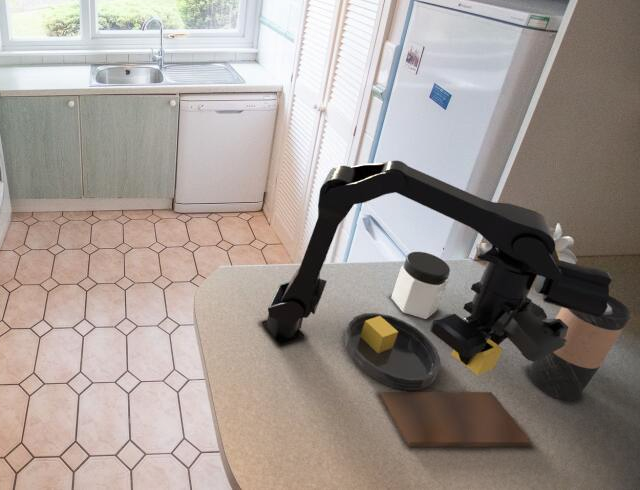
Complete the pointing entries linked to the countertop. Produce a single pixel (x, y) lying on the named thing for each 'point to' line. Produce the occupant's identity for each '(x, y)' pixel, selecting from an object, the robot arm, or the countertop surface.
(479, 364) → the cheese front
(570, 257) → the flower vase
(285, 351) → the countertop surface
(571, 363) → the travel mug
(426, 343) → the pan
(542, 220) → the robot arm
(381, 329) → the cheese back
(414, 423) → the board
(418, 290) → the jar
